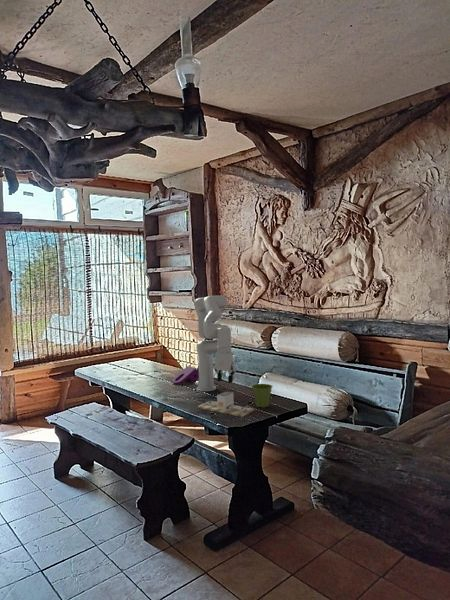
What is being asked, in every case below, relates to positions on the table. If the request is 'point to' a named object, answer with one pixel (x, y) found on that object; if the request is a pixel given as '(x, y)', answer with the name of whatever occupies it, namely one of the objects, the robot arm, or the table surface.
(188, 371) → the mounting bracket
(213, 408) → the rail board
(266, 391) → the plant pot
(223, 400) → the box
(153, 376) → the table surface
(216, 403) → the rail
